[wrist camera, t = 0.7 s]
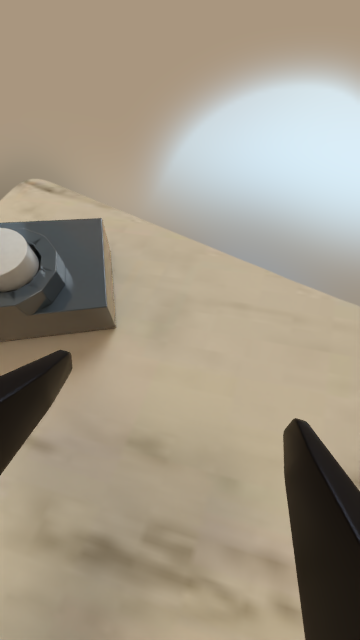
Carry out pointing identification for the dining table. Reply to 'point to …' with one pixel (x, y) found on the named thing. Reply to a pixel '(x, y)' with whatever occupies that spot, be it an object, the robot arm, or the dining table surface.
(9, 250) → the white push button
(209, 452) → the dining table surface
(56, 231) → the grey push button box
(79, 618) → the dining table surface
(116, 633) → the dining table surface
